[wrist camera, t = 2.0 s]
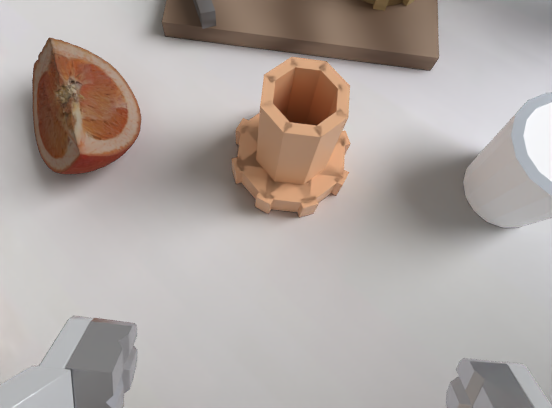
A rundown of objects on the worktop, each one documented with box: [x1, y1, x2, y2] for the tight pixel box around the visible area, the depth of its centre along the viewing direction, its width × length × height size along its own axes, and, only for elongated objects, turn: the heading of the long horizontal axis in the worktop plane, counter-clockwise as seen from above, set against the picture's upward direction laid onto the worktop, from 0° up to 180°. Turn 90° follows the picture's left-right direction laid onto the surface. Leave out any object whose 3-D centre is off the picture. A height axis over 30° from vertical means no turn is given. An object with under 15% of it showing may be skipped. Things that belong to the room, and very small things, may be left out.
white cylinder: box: [463, 93, 552, 228], centre depth 28 cm, size 7×7×7 cm
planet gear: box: [232, 57, 350, 217], centre depth 26 cm, size 8×8×8 cm
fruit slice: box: [32, 38, 141, 174], centre depth 28 cm, size 8×7×5 cm
